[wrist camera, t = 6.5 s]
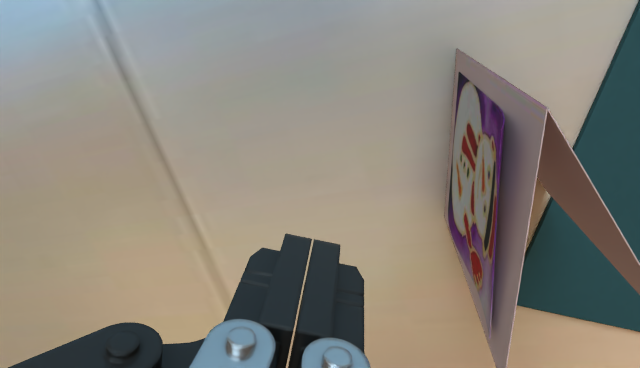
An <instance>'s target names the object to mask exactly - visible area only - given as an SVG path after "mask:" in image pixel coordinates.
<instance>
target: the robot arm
mask: <svg viewBox="0 0 640 368" xmlns="http://www.w3.org/2000/svg"><path fill="white" fill-rule="evenodd" d="M311 241H312V239H310V238H305V237H300V236H295V235H290V234H285V237H284V240H283V244H282V247H281V250H280V251H276V250H271V249H266V248H261V249H260V250H259V251H257V252H256V253H255V254H253V255H252V256H251V257H250V259H249V261H248V264H247V266H246V268H245V272H244V273H243V276H242V278H241V281H240V283H239V285H238V288H237V290H236V292H235V295H234V297H233V300H232V302H231V304H230V307H229V309H228V312H227V314H226V316H225V319H224V321H223V322H222V323H220V324H218V325H217V326H215V327H214V328H213V329H212V330H211V331H210V332H209V334H208V335H207V337H206V338H204V339H202V340H199V341H195V342H190V343H179V344H163V343H162V339H161V337H160V335H159V334H158V333H157V332H156V331H155V330H154V329H152V328H151V327H149V326H146V325H143V324H139V323H119V324H115V325H111V326H108V327H106V328H103V329H101V330H98V331H96V332H93V333H91V334H89V335H86V336H84V337H81V338H79V339H76V340H74V341H72V342H69V343H67V344H64V345H62V346H59V347H57V348H55V349H52V350H50V351H47V352H45V353H42V354H40V355H38V356H35V357H33V358H30V359H28V360H25V361H23V362H21V363H18V364H16V365H13V366H11V367H8V368H286V363H287V358H288V353H289V348H290V344H291V339H292V334H293V329H294V324H295V319H296V314H297V309H298V305H299V300H300V295H301V290H302V285H303V280H304V275H305V270H306V265H307V260H308V255H309V250H310V245H311ZM339 255H340V245H339V244H334V243H329V242H325V241H320V240H315V239H314V243H313V247H312V252H311V257H310V262H309V266H308V271H307V276H306V281H305V285H304V290H303V295H302V300H301V305H300V310H299V315H298V320H297V325H296V330H295V336H294V341H293V346H292V351H291V356H290V361H289V366H288V368H370V364H369V361H368V359H367V357H366V356H365V354H364V279H363V278H362V276H361V274H360V273H359V271H358V269H357V267H354V266H349V265H344V264H340V263H339Z"/></svg>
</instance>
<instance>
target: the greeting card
mask: <svg viewBox="0 0 640 368" xmlns="http://www.w3.org/2000/svg"><path fill="white" fill-rule="evenodd" d="M537 177H538V179H539V180H540V182H541V184H542V185H543V187H544V188H545V190H546V191H547V192H548V193H549V194H550V195H551V196H552V198H553V199H554V200H555V201H556V202H557V203H558V204H559V205H560V207H561V208H562V209H563V210H564V211H565V212H566V213H567V214H568V216H569V217H570V218H571V219H572V220H573V221H574V222H575V223H576V224H577V226H578V227H579V228H580V229H581V230H582V231H583V232H584V233H585V235H586V236H587V237H588V238H589V239H590V240H591V241H592V242H593V243H594V245H595V246H596V247H597V248H598V249H599V250H600V251H601V252H602V254H603V255H604V256H605V257H606V258H607V259H608V260H609V261H610V262H611V264H612V265H613V266H614V267H615V268H616V269H617V270H618V271H619V273H620V274H621V275H622V276H623V277H624V278H625V279H626V280H627V282H628V283H629V284H630V285H631V286H632V287H633V288H634V289H635V290H636V292H637V293H638V294H639V295H640V263H639V261H638V260H637V258H636V256H635V255H634V253H633V251H632V249H631V248H630V246H629V244H628V243H627V241H626V239H625V238H624V236H623V234H622V232H621V231H620V229H619V227H618V226H617V224H616V222H615V221H614V219H613V217H612V216H611V214H610V212H609V210H608V209H607V207H606V205H605V204H604V202H603V200H602V199H601V197H600V195H599V193H598V192H597V190H596V188H595V187H594V185H593V183H592V182H591V180H590V178H589V177H588V175H587V173H586V171H585V170H584V168H583V166H582V165H581V163H580V161H579V160H578V158H577V156H576V154H575V153H574V151H573V149H572V148H571V146H570V144H569V143H568V141H567V139H566V138H565V136H564V134H563V132H562V131H561V129H560V127H559V126H558V124H557V122H556V121H555V119H554V117H553V115H552V114H551V112H550V110H549V109H548V108H547V107H546V106H544V105H543V104H541V103H540V102H538V101H537V100H535V99H534V98H532V97H531V96H529V95H528V94H526V93H525V92H523V91H521V90H520V89H518V88H517V87H515V86H514V85H512V84H511V83H509V82H508V81H506V80H505V79H503V78H502V77H500V76H499V75H497V74H495V73H494V72H492V71H491V70H489V69H488V68H486V67H485V66H483V65H482V64H480V63H479V62H477V61H476V60H474V59H473V58H471V57H469V56H468V55H466V54H465V53H463V52H462V51H460V50H459V49H457V52H456V65H455V78H454V92H453V105H452V118H451V132H450V145H449V158H448V172H447V185H446V199H445V212H444V217H445V220H446V223H447V225H448V228H449V231H450V234H451V237H452V240H453V243H454V246H455V249H456V252H457V254H458V257H459V260H460V263H461V266H462V269H463V272H464V275H465V278H466V281H467V283H468V286H469V289H470V292H471V295H472V298H473V301H474V304H475V307H476V309H477V312H478V315H479V318H480V321H481V324H482V327H483V330H484V333H485V336H486V338H487V341H488V344H489V347H490V350H491V353H492V356H493V359H494V362H495V365H496V367H497V368H507V363H508V356H509V350H510V344H511V338H512V331H513V325H514V319H515V312H516V306H517V300H518V293H519V287H520V281H521V275H522V268H523V262H524V256H525V249H526V243H527V237H528V231H529V224H530V218H531V212H532V205H533V199H534V193H535V186H536V180H537Z"/></svg>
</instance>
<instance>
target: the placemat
mask: <svg viewBox="0 0 640 368" xmlns="http://www.w3.org/2000/svg"><path fill="white" fill-rule="evenodd" d="M573 151H574V153H575V154H576V156H577V158H578V160H579V161H580V163H581V165H582V166H583V168H584V170H585V171H586V173H587V175H588V177H589V178H590V180H591V182H592V183H593V185H594V187H595V188H596V190H597V192H598V193H599V195H600V197H601V199H602V200H603V202H604V204H605V205H606V207H607V209H608V210H609V212H610V214H611V216H612V217H613V219H614V221H615V222H616V224H617V226H618V227H619V229H620V231H621V232H622V234H623V236H624V238H625V239H626V241H627V243H628V244H629V246H630V248H631V249H632V251H633V253H634V255H635V256H636V258H637V260H638V261H639V263H640V0H639V2H638V4H637V6H636V9H635V11H634V13H633V15H632V17H631V20H630V22H629V24H628V26H627V29H626V31H625V33H624V35H623V38H622V40H621V42H620V44H619V47H618V49H617V51H616V53H615V55H614V58H613V60H612V62H611V64H610V67H609V69H608V71H607V73H606V76H605V78H604V80H603V82H602V85H601V87H600V89H599V91H598V93H597V96H596V98H595V100H594V102H593V105H592V107H591V109H590V111H589V114H588V116H587V118H586V120H585V123H584V125H583V127H582V129H581V131H580V134H579V136H578V138H577V140H576V143H575V145H574V147H573ZM517 305H518V306H523V307H528V308H532V309H537V310H541V311H546V312H551V313H555V314H560V315H565V316H569V317H574V318H579V319H583V320H588V321H592V322H597V323H602V324H606V325H611V326H616V327H620V328H625V329H630V330H634V331H639V332H640V295H639V294H638V293H637V292H636V290H635V289H634V288H633V287H632V286H631V285H630V284H629V283H628V282H627V280H626V279H625V278H624V277H623V276H622V275H621V274H620V273H619V271H618V270H617V269H616V268H615V267H614V266H613V265H612V264H611V262H610V261H609V260H608V259H607V258H606V257H605V256H604V255H603V254H602V252H601V251H600V250H599V249H598V248H597V247H596V246H595V245H594V243H593V242H592V241H591V240H590V239H589V238H588V237H587V236H586V235H585V233H584V232H583V231H582V230H581V229H580V228H579V227H578V226H577V224H576V223H575V222H574V221H573V220H572V219H571V218H570V217H569V216H568V214H567V213H566V212H565V211H564V210H563V209H562V208H561V207H560V205H559V204H558V203H557V202H556V201H555V200H554V199H553V198H552V196H551V198H550V201H549V203H548V205H547V207H546V210H545V212H544V214H543V216H542V219H541V221H540V223H539V225H538V228H537V230H536V232H535V234H534V236H533V239H532V241H531V243H530V245H529V248H528V250H527V252H526V254H525V257H524V262H523V268H522V275H521V281H520V287H519V293H518V300H517Z"/></svg>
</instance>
